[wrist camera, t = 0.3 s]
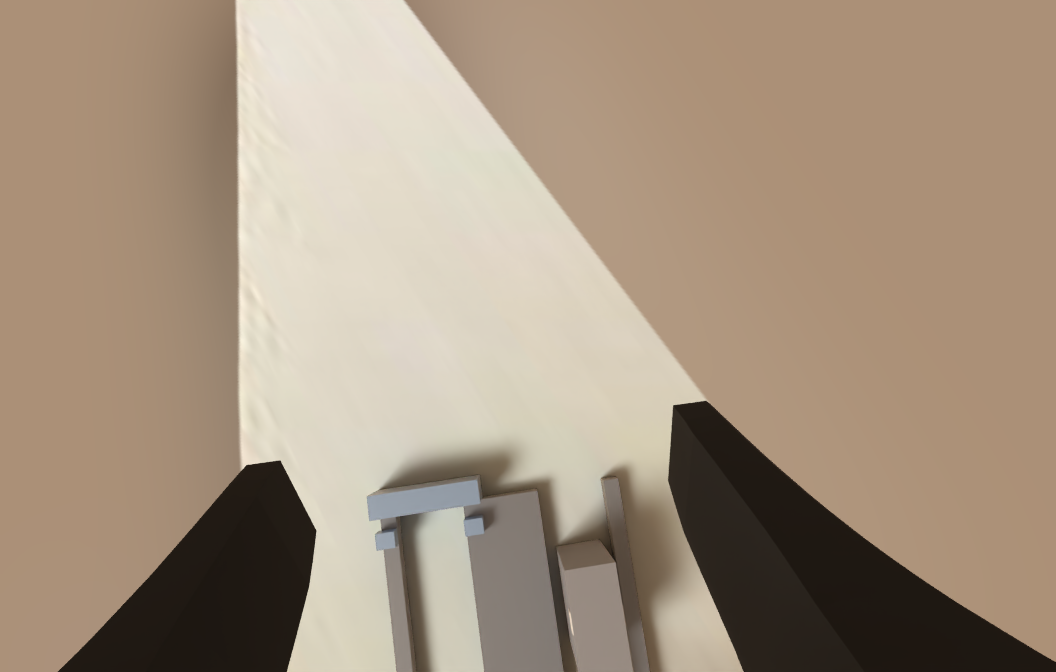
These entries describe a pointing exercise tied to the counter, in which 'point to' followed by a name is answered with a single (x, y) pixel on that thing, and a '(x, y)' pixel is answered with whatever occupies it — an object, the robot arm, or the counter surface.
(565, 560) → the tall taupe box
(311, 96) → the counter surface
